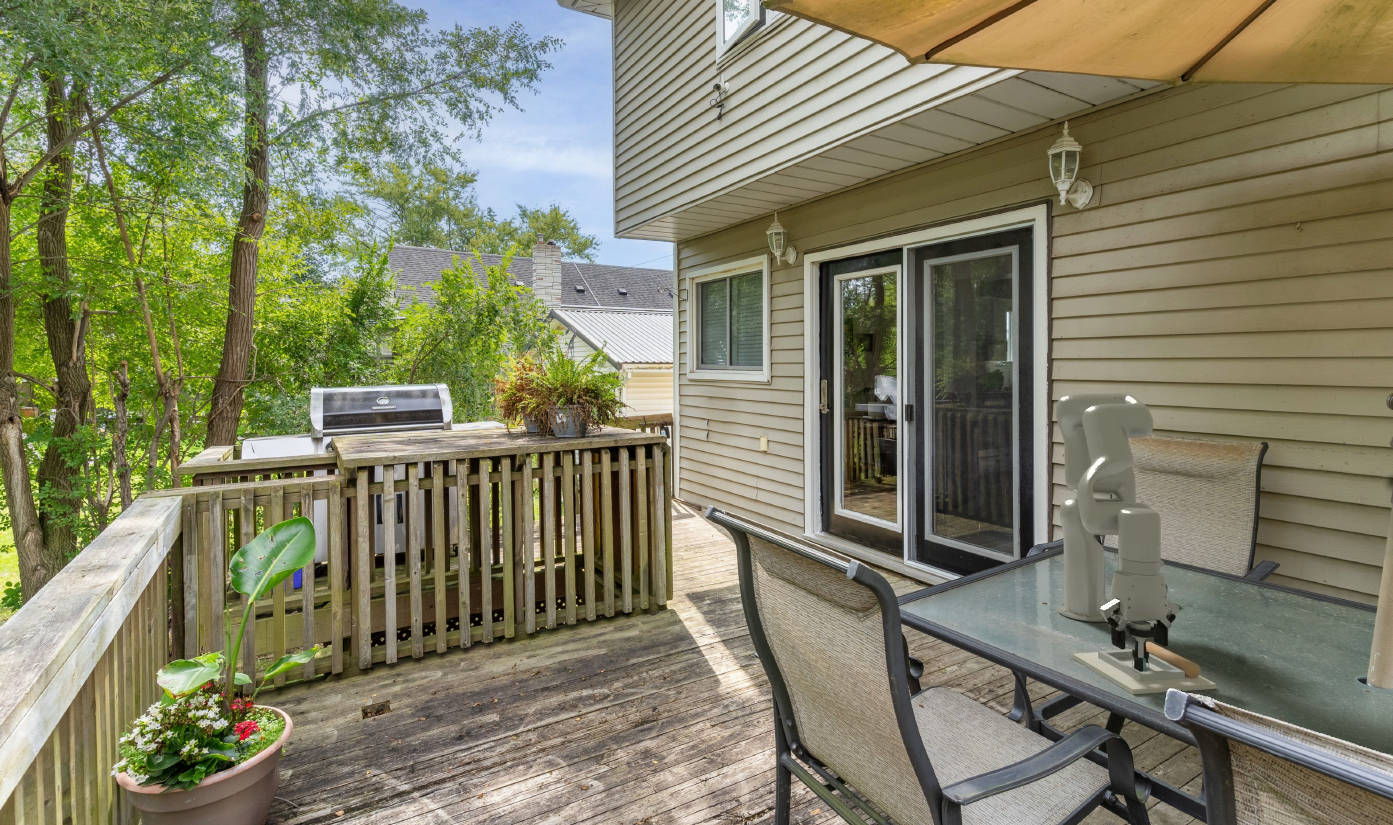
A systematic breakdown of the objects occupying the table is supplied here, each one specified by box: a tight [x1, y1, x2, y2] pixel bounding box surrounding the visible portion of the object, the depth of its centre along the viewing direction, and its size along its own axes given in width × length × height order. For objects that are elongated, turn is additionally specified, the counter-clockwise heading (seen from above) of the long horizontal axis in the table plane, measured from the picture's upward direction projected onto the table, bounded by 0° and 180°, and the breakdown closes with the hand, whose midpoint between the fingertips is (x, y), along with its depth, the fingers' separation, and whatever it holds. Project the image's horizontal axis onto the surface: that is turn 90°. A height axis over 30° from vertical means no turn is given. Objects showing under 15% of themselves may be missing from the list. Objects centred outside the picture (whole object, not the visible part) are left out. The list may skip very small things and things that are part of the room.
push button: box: [1124, 621, 1156, 672], centre depth 138 cm, size 7×5×10 cm
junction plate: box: [1071, 641, 1217, 695], centre depth 138 cm, size 18×18×4 cm
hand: (1139, 645), depth 138 cm, fingers open, 9 cm apart
